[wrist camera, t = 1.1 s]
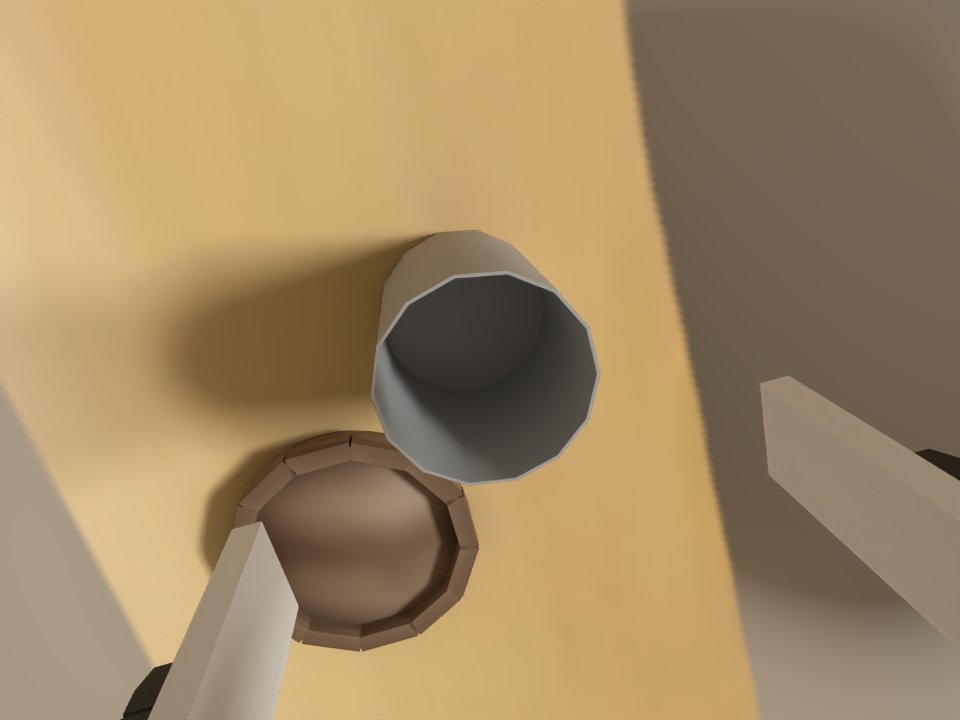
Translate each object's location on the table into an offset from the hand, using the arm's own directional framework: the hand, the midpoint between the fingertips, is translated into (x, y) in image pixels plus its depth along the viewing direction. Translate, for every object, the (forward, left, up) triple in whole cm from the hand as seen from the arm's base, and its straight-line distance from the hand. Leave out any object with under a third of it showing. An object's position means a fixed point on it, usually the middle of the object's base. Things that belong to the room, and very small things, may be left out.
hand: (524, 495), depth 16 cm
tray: (+11, -9, -17) cm, 22 cm away
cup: (0, 0, -18) cm, 18 cm away
